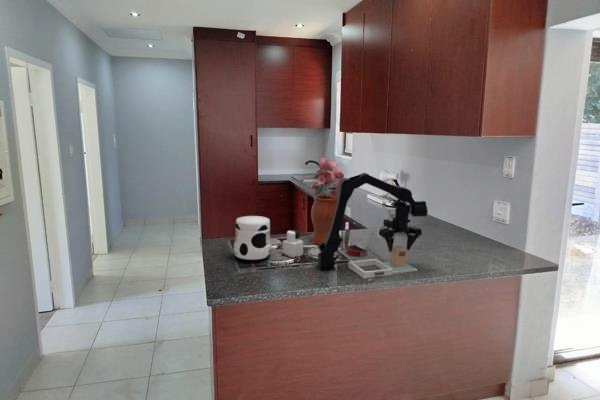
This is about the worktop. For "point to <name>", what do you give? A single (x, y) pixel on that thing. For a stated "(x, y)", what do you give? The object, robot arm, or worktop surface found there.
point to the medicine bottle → (293, 243)
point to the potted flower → (324, 200)
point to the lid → (400, 268)
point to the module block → (398, 256)
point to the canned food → (356, 249)
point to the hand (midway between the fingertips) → (399, 251)
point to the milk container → (252, 238)
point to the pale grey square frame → (368, 274)
